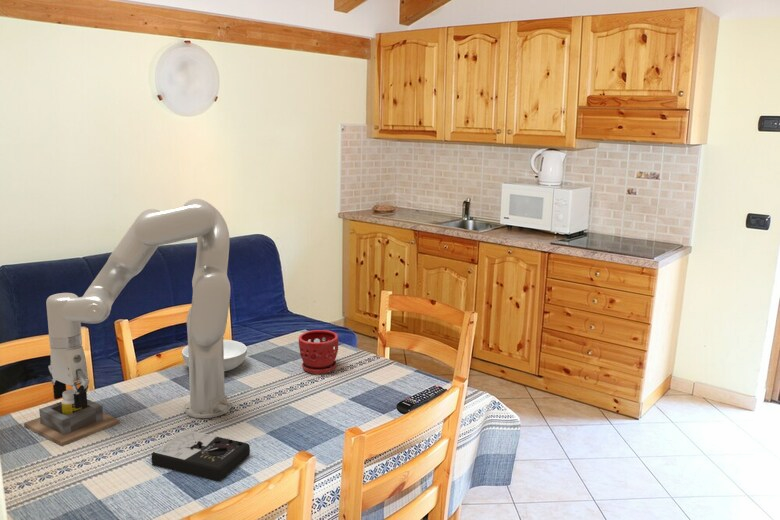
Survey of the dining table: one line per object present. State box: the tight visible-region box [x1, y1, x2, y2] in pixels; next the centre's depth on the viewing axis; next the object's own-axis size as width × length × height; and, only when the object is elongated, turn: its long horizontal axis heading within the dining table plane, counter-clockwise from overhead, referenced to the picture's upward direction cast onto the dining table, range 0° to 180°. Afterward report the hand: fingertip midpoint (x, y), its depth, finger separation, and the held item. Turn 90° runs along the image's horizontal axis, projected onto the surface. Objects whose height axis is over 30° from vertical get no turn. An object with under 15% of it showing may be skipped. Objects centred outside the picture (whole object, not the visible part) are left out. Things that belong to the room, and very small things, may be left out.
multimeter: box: [150, 429, 251, 482], centre depth 154 cm, size 13×19×5 cm
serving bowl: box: [181, 339, 248, 372], centre depth 213 cm, size 21×21×7 cm
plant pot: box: [298, 329, 339, 375], centre depth 213 cm, size 13×13×12 cm
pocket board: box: [23, 398, 121, 447], centre depth 170 cm, size 18×16×5 cm
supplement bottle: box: [60, 388, 82, 415], centre depth 169 cm, size 5×5×8 cm
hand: (70, 402), depth 169 cm, fingers open, 9 cm apart
